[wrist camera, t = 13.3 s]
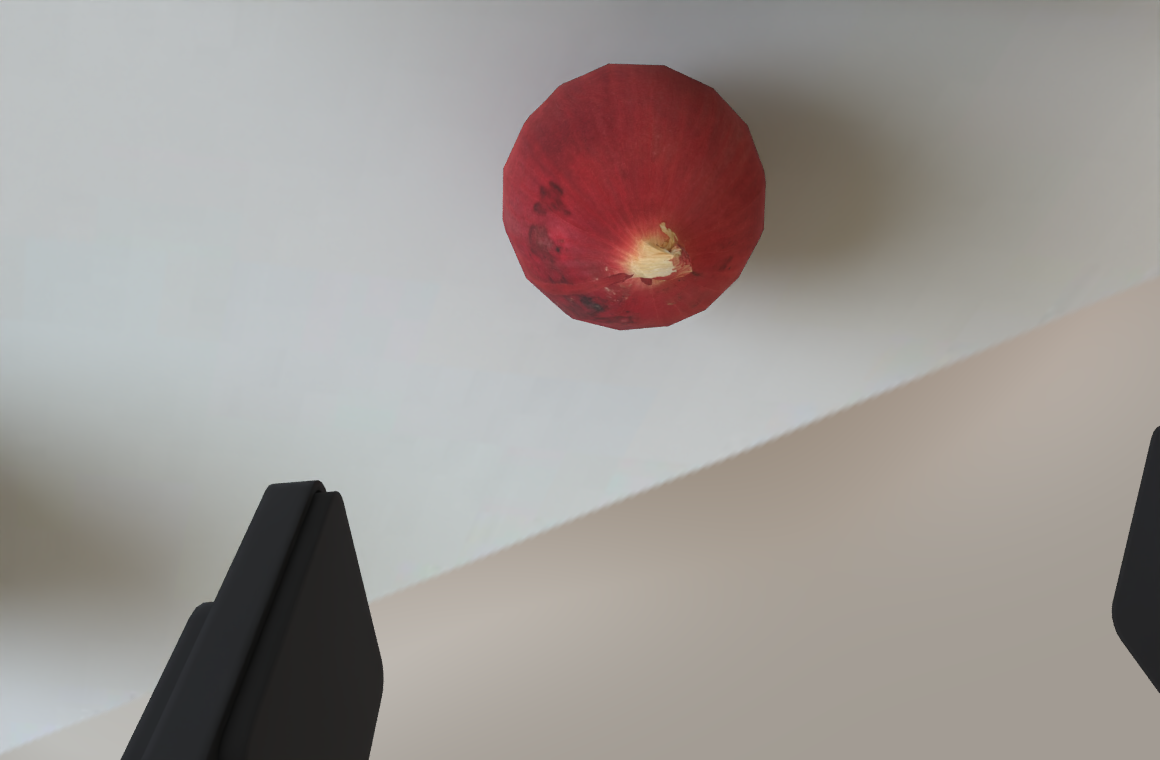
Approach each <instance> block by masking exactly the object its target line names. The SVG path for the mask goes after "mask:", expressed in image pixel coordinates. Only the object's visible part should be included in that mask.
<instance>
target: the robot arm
mask: <svg viewBox="0 0 1160 760" xmlns="http://www.w3.org/2000/svg"><path fill="white" fill-rule="evenodd" d="M1112 619H1113V623H1114V626H1115V629H1116V632H1117V634H1118V636H1119V637H1120V639H1121V641H1122V642H1123V643H1124V645H1125V646H1126V647H1127V649H1128V650H1129V652H1130V653H1131V654H1132V656H1133V657H1134V659H1135V660H1136V661H1137V663H1138V664H1139V666H1140V667H1141V668H1142V670H1143V671H1144V672H1145V674H1146V675H1147V676H1148V678H1149V679H1150V681H1151V682H1152V683H1153V685H1154V686H1155V688H1156V689H1157V690H1158V692H1159V693H1160V426H1159V427H1157V428H1156V430H1155V431H1154V432H1153V435H1152V438H1151V442H1150V446H1149V451H1148V454H1147V459H1146V463H1145V467H1144V472H1143V476H1142V480H1141V484H1140V489H1139V493H1138V497H1137V502H1136V506H1135V510H1134V514H1133V518H1132V523H1131V527H1130V532H1129V535H1128V540H1127V544H1126V548H1125V553H1124V557H1123V561H1122V565H1121V569H1120V574H1119V578H1118V583H1117V586H1116V591H1115V595H1114V599H1113V604H1112ZM382 692H383V665H382V659H381V656H380V651H379V647H378V643H377V639H376V635H375V631H374V626H373V623H372V618H371V614H370V610H369V606H368V602H367V597H366V593H365V589H364V585H363V581H362V577H361V573H360V568H359V564H358V560H357V556H356V552H355V548H354V544H353V540H352V535H351V531H350V527H349V523H348V519H347V515H346V511H345V506H344V502H343V499H342V496H341V495H340V493H339V492H337V491H334V492H326V489H325V487H324V485H323V484H322V482H320V481H319V480H316V481H303V482H291V483H278V484H271V485H269V486H268V488H267V489H266V491H265V493H264V495H263V497H262V499H261V501H260V504H259V506H258V508H257V510H256V512H255V514H254V517H253V519H252V521H251V523H250V525H249V527H248V530H247V532H246V534H245V536H244V538H243V540H242V543H241V545H240V547H239V549H238V551H237V553H236V555H235V558H234V560H233V562H232V564H231V566H230V568H229V571H228V573H227V575H226V577H225V579H224V581H223V584H222V586H221V588H220V590H219V592H218V594H217V597H216V599H215V601H214V602H206V603H203V604H201V605H199V606H198V607H196V609H195V610H194V612H193V613H192V615H191V616H190V618H189V620H188V622H187V624H186V626H185V628H184V630H183V632H182V634H181V636H180V638H179V640H178V643H177V645H176V647H175V649H174V651H173V653H172V655H171V657H170V659H169V661H168V663H167V665H166V667H165V669H164V671H163V673H162V675H161V678H160V680H159V682H158V684H157V686H156V688H155V690H154V692H153V694H152V696H151V698H150V700H149V702H148V704H147V706H146V708H145V711H144V713H143V715H142V717H141V719H140V721H139V723H138V725H137V727H136V729H135V731H134V733H133V735H132V737H131V739H130V741H129V743H128V746H127V748H126V750H125V752H124V754H123V756H122V758H121V760H369V755H370V751H371V746H372V741H373V736H374V731H375V726H376V721H377V717H378V712H379V708H380V703H381V698H382Z"/></svg>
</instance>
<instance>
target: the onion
mask: <svg viewBox="0 0 1160 760" xmlns="http://www.w3.org/2000/svg"><path fill="white" fill-rule="evenodd" d="M765 188H766V181H765V173H764V169H763V166H762V164H761V161H760V158H759V155H758V153H757V150H756V147H755V144H754V142H753V139H752V136H751V134H750V131H749V128H748V125H747V124H746V123H745V122H744V121H743V120H742V119H741V118H740V117H739V116H738V115H737V114H736V112H735V111H734V110H733V109H732V108H731V107H730V106H729V105H728V104H727V103H726V102H725V101H724V99H723V98H722V97H721V96H720V95H719V94H718V93H717V92H716V91H715V90H714V89H713V88H711V87H709V86H707V85H705V84H703V83H701V82H699V81H697V80H694V79H692V78H690V77H688V76H686V75H684V74H682V73H680V72H677V71H675V70H673V69H671V68H669V67H667V66H665V65H635V64H607V65H605V66H602V67H600V68H598V69H596V70H594V71H592V72H589V73H587V74H585V75H583V76H580V77H578V78H575V79H573V80H571V81H568V82H566V83H563V84H562V85H560V86H559V87H558V88H557V89H556V90H555V91H554V92H553V93H552V94H551V95H550V96H549V97H548V99H547V100H546V101H545V102H544V103H543V104H542V105H541V106H540V107H539V108H538V109H536V110H535V111H534V112H533V113H532V114H531V115H530V116H529V118H528V119H527V120H526V122H525V123H524V125H523V127H522V129H521V131H520V133H519V136H518V138H517V140H516V142H515V144H514V147H513V149H512V151H511V153H510V155H509V157H508V160H507V162H506V164H505V166H504V168H503V222H504V226H505V230H506V233H507V235H508V237H509V240H510V242H511V244H512V246H513V249H514V251H515V253H516V256H517V258H518V260H519V263H520V265H521V267H522V269H523V272H524V274H525V276H526V278H527V279H528V280H529V281H530V282H531V283H532V284H533V285H534V286H536V287H537V288H538V289H539V290H540V291H541V292H542V293H543V294H544V295H546V296H547V297H548V298H549V299H550V300H551V301H552V302H553V303H554V304H556V305H557V306H558V307H559V308H560V309H561V310H562V311H563V312H565V313H566V314H567V315H569V316H570V317H571V318H573V319H576V320H580V321H584V322H588V323H592V324H596V325H601V326H605V327H609V328H613V329H617V330H629V329H640V328H651V327H663V326H670V325H672V324H674V323H677V322H679V321H681V320H683V319H686V318H688V317H690V316H692V315H695V314H697V313H699V312H701V311H704V310H706V309H707V308H708V307H709V306H710V305H711V304H712V303H713V302H714V301H715V300H716V299H717V298H718V297H719V296H720V295H721V294H722V293H723V292H724V291H725V290H726V289H727V288H728V287H729V286H730V285H731V284H732V283H733V282H734V281H736V280H737V279H738V278H739V276H740V274H741V272H742V270H743V268H744V267H745V265H746V263H747V261H748V259H749V257H750V255H751V253H752V252H753V250H754V248H755V246H756V244H757V242H758V240H759V239H760V236H761V234H762V232H763V230H764V210H765Z"/></svg>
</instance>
